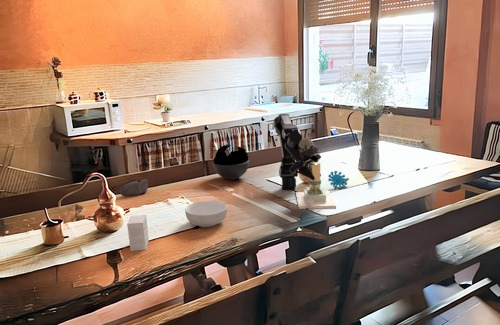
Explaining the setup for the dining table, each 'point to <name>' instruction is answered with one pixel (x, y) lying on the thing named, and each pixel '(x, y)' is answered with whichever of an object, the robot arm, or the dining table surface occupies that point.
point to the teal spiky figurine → (338, 180)
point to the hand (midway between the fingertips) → (317, 177)
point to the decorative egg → (306, 143)
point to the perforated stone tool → (134, 188)
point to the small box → (138, 232)
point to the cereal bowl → (206, 213)
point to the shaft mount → (315, 199)
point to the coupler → (314, 184)
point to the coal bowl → (231, 162)
